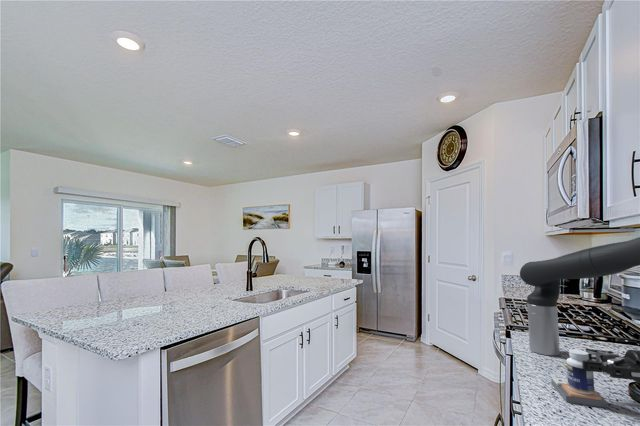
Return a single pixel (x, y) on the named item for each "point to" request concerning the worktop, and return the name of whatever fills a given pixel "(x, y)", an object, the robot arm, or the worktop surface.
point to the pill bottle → (579, 373)
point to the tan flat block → (577, 394)
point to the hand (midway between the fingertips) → (576, 359)
